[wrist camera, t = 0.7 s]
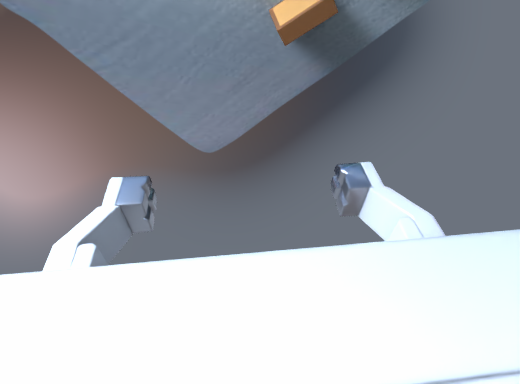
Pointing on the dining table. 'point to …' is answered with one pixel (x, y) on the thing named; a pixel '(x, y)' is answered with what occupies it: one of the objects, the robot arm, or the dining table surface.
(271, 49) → the dining table surface
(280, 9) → the toast
